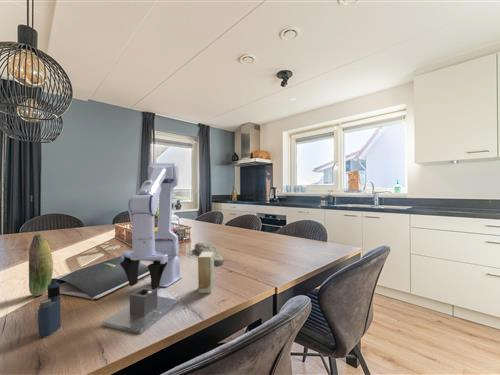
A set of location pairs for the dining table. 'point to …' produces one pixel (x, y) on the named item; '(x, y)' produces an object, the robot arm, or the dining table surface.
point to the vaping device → (50, 311)
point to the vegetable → (39, 265)
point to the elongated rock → (209, 248)
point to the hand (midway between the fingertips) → (144, 286)
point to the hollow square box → (143, 301)
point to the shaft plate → (140, 316)
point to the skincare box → (206, 272)
